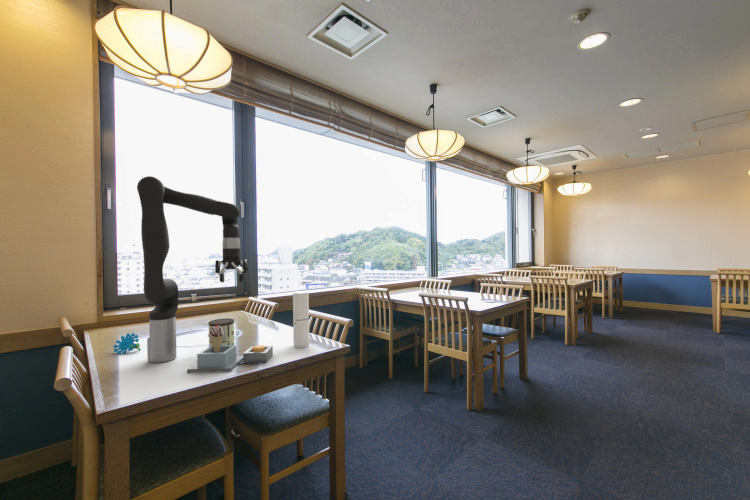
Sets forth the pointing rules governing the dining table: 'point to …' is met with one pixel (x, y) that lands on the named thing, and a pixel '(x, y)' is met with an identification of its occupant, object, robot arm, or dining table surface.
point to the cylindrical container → (301, 319)
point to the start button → (258, 348)
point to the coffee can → (227, 328)
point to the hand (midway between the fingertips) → (231, 282)
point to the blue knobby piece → (127, 343)
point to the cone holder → (217, 360)
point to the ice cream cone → (216, 337)
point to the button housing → (258, 355)
